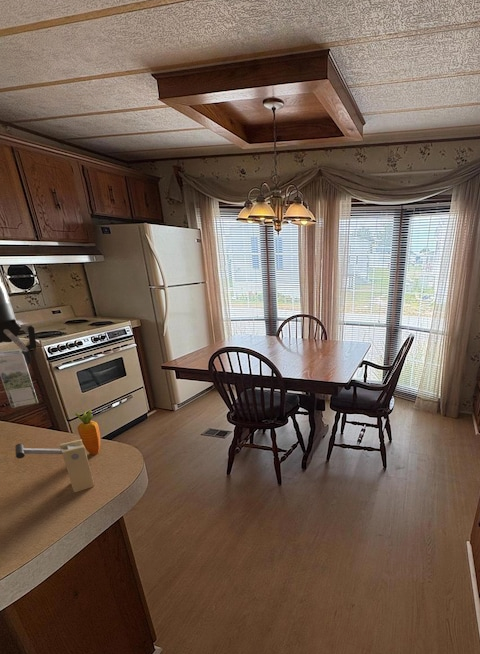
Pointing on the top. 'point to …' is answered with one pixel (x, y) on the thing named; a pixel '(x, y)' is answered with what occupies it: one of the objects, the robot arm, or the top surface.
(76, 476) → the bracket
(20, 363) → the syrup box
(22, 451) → the lever
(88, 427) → the carrot
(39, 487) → the top surface
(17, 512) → the top surface
